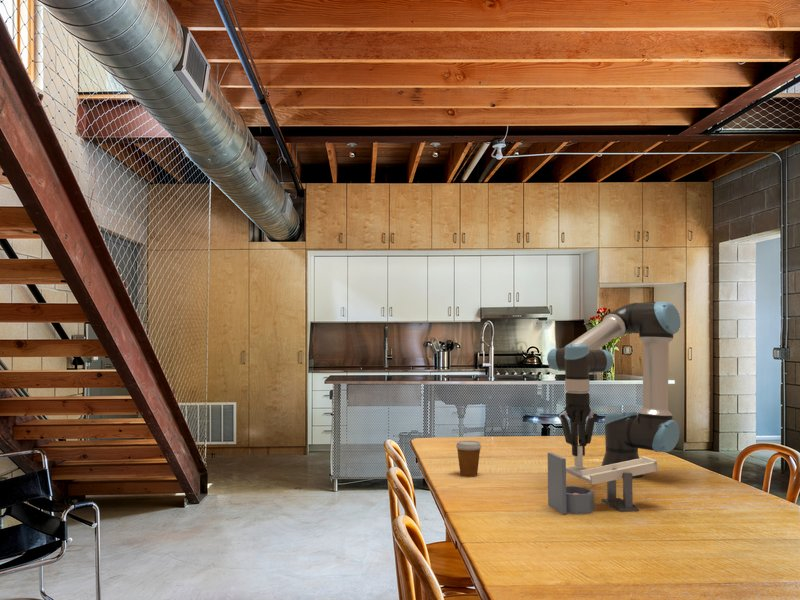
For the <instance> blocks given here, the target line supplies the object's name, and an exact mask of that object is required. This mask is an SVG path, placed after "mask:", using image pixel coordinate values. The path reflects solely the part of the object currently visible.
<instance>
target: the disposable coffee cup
mask: <svg viewBox="0 0 800 600" xmlns="http://www.w3.org/2000/svg"><path fill="white" fill-rule="evenodd" d="M455 447H456V449H457V457H458V465H459V475H460V476H462V477H465V476H466V477H465V478H467V477H469V478H471V477H472V478H473V477H477V476H478V470H479V463H480V453H481V449H482V445H481V442H480V441H476V440H460V441H457V442H456V445H455Z"/></svg>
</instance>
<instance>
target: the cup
mask: <svg viewBox="0 0 800 600" xmlns="http://www.w3.org/2000/svg"><path fill="white" fill-rule="evenodd" d="M566 468H567V459H566V458H565V457H562V456H560V455H558V454H555V453H553V452H547V505H548V506H549V507H550V508H552V509H553V510H555V511H557V512H558V513H559V514H560V515H567V513H568V514H573V515H581V514H582V515H583V514H591V513H592V512H593V511H594V510H595V491H594V490H593V489H590V488H589V487H586V486H579V485H567V472H566ZM573 493H578V494H573Z"/></svg>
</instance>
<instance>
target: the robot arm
mask: <svg viewBox="0 0 800 600" xmlns="http://www.w3.org/2000/svg"><path fill="white" fill-rule="evenodd" d="M680 328H681V317H680V313H679V311H678V309H677V307H676V306H675V305H674V304H673V303H671V302H669V301H659V300H658V301H649V302H648V301H647V302H645V301H644V302H632V303H628V304H625V305H622V306H620V307H618V308H616V309H615V310H612V311H611V312H609V313H608V314H607V315H605V316H604V317H603V318H602V321H601V322H599V323H598V324H597V325H595V326H593V327H592V328H590V329H589V330H587V331H586V332H584V333H583V334H582V335H580V336H578V337H577V338H575V339H574V340H573V341H571V342H569V343H568V344H566V345H565V346H564V347H562V348H559V347H558V348H553V349H550V350H549V352H548V354H547V358H546V360H547V361H546V362H547V365H548V367H549V368H550V369H552V370H556V371H560V372H561V371H565V372H564V373H565V375H564V383H565V385H564V386H565V387H564V388H565V390H564V391H566V392H565V394H564V395H565V401H564V402H565V407H564V411H563V412H562V413H558V414H557V417H558V419H559V420H560V422H561V427H562V430H563V435H564V439H565V443H566V444H568V445H571V455H572V456H574V459H573V460H574V466H577V467H584V463H583V461H584V459H583V457H584V456H585V455H586V447H587V445H588V444H589V445H590V444H591V443H592V436H593V433H594V428H595V427H594V426H595V422H596V420H597V419H598V414H597V413H594V412H593V411H592V410H591V407H590V401H591V400H590V399H591V398H590V397H591V395H590V393H589V392H590V373H603V372H605V373H606V372H608V371H610V370H611V369H612V368H613V365H614V358H613V355H612V353H611V352H610V351H608V350H607V349H601V348H602V347H604V346H605V345H607V344H608V343H610V342H611V341H612V340H614V339H618V338H621V337H623V336H624V335H628V334H629V335H631V334H638V338H639V340H641V341H642V342H643V343H642V344H643V345H642V346H643V347H642V348H643V349H642V353H643V355H642V356H643V358H642V360H643V361H642V362H643V363H642V408H641V409H640V410H639V411H638V412H637V411H619V412H617V411H616V412H609V413H607V414H606V415H605V419H604V420H605V421H604V428H605V429H604V433H605V434H604V437H605V453H604V456H603V459H602V462H601V465H600V466H605V465H610V464H615V463H620V462H625V461H630V460H635V459H640V458H641V457H640V456H639V449H640V450H647V451H653V452H655V453H659V452H660V453H669V452H671V451H672V450H673V449H675V448H676V445H677V443H678V442H679V439H680V434H681V433H680V432H681V431H680V427H679V424H678V422H677V421H676V420H673V417H674V416H673V415H674V414H672V413H671V411H670V410H669V360H670V359H669V356H670V355H669V352H670V351H669V350H670V349H669V347H670V345H669V344H670V343H671V342H672V341H673V340H674V335H675V334H677V333H678V332H679V330H680ZM568 419H569V422H568ZM569 423H570V425H569ZM643 476H644V474H641V475H636V476H632V479H633V478H640V477H643Z"/></svg>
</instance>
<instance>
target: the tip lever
mask: <svg viewBox="0 0 800 600" xmlns="http://www.w3.org/2000/svg"><path fill="white" fill-rule="evenodd" d="M639 458H640V459H635V460H630V461H625V462H620V463H615V464H610V465H605V466H601V465H600V466H596V467H591V468H587V467H584V466H583V467H577V466H575V465H574V466H570V467H566V474H570V475H572V476H573V477H576V478H578V479H580V480H582V481H585V482H587V483H588V484H591V486H592V485H597V484H602V483H607V482H608V481H612V480H616V481H617V480H621V479H622V480H623V473H632V476H636V475H641V474H643V475H645V474H649V473H655V472H659V467H658V461H657V460H656V459H653V458H651V457H648V456H645V455H642V456H641V457H639Z"/></svg>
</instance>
